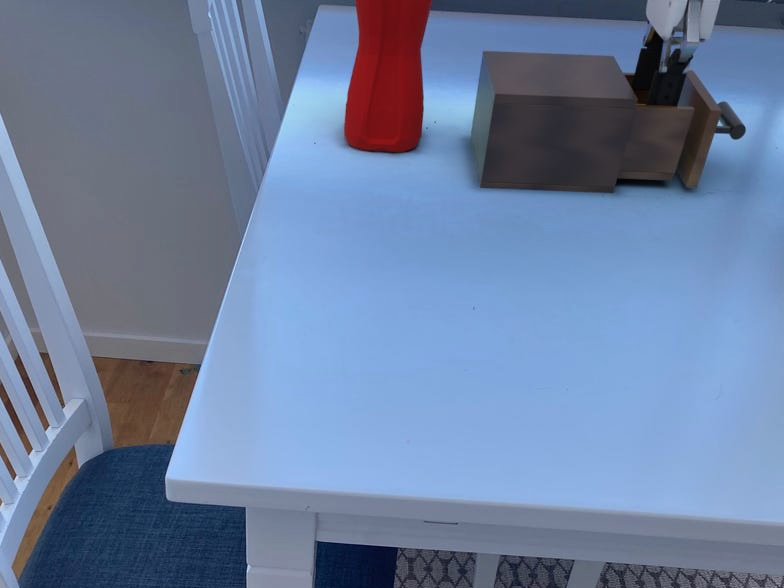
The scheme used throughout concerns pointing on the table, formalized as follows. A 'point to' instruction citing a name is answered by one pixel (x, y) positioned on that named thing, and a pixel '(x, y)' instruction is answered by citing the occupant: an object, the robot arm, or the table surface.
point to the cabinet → (550, 121)
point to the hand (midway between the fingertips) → (652, 99)
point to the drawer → (676, 134)
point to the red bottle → (387, 76)
